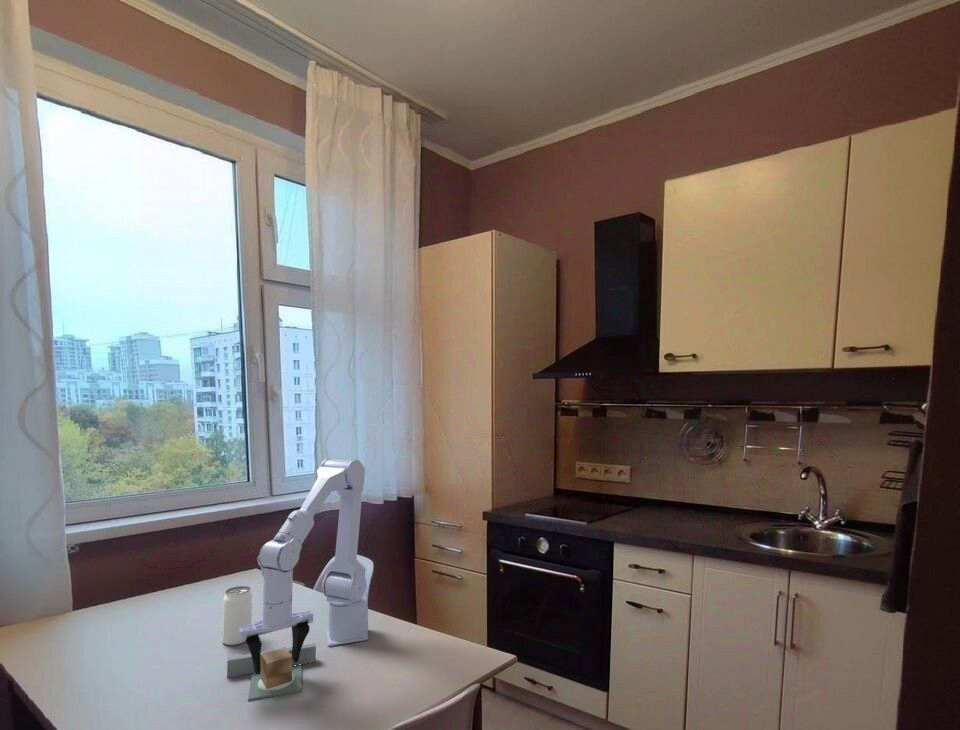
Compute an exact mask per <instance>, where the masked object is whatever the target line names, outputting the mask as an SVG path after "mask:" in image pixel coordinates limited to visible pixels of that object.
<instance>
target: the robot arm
mask: <svg viewBox="0 0 960 730" xmlns="http://www.w3.org/2000/svg"><path fill="white" fill-rule="evenodd" d="M365 474H366V467H365V466H364V465H363V463H362V461H360V460H358V459H353V460H352V459H337V458H336V459H335V458H325V459H324V460H323V461H322V462H321V464H320V466H319V468H318V469H317V470H316V478H317V479H316V480H315V482H314V484H313V486H312V487H311V489H310V491H309V493H308V494H307V496H306V497H305V500H304V502H302V505H301V507H300V509H295V510H293V511H292V512H291V513H289V515H288V516H287V519H286V520H285V522H284V523H283V524H282V526H281V527H280V529H279V530H278V532H277V533H276V534H275V536H274V538H273V539H272V540H269V541H267V542H265V544H264V545H262V547H261V548H260V551H259V555H258V556H257V557H256V560H257V563H258V566H259V567H260V569H261V576H262V578H263V592H262V594H263V595H262V597H263V598H262V599H263V600H262V601H263V603H262V620H259V621H257V622H254V623H251V625H249V626H246V627H243V628H240V629H239V639H240V641H241V642H242V641H246V642H245V643H246V645H247V647H248V650H249V652H250V653H249V654H251V656H252V660H253V664H254V671H255V673H256V674H260V669H261V668H260V654H261V652H262V651H261V650H262V644H263V642H262V641H261V637H260V636H261V635H265V634H270V633H272V632H277V631H281V630H282V631H283V630H285V629H288V628H291V632H292V633H291V635H292V636H291V637H292V646H291V647H292V659H293V660H294V662H298V660H299V655H300V651H301V648H302V645H304V642H305V640H306V638H307V636H308V635H309V632H310V627H311V626H310V625H309V624H312V623H313V622H314V612H312V611H311V610H305V611H300V612H293V577H294V576H293V574H294V573H293V572H294V570H293V569H294V567H295V566H296V565H297V564H298V562H299V560H300V553H301V550H302V547H303V546H302V544H303V543H304V542H305V539H306V538H307V536H308V535H309V533H310V532H311V531H312V529H313V527H314V525H315V521H314V516H315V515H316V514H317V512H318V511H319V510H320V508H321V507H322V505H323V504H324V503H325V502H326V501H327V499H328V498H329V496H330V495H331V494H332V493H333V492H337V494H338V495H339V496H340V501H339V510H338V511H339V512H338V521H337V522H338V523H337V531H336V544H335V555H334V561H332V562H331V563H329V564H328V565H327V566H326V569H325V574H324V577H323V579H322V585H321V590H322V594H323V595H324V596H325V597H326V602H328V603H329V604H328V630H326V634H325V635H326V642H327V646H328V647H331V646H332V647H333V646H339V645H345V644H350V643H355V642H356V643H357V642H363V641H368V640H369V612H368V611H369V610H368V608H369V607H368V599H367V597H364V595H365V594H366V590H367V579H366V568H365V567H364V566H363V564H362V563H360V562H359V560H358V559H357V557H358V547H359V536H360V535H359V534H360V524H361V513H362V511H361V510H362V501H363V492H364V487H365V477H366V475H365Z"/></svg>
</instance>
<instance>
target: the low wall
mask: <svg viewBox="0 0 960 730" xmlns="http://www.w3.org/2000/svg"><path fill="white" fill-rule="evenodd" d="M286 648H287V650H288V651H289V653H290V654H291V655H292V646H291V647H286ZM316 649H317V645H316V643H309V644H308V643H307V644H303V645H302V648H301V651H300V655H299V660H298V662H294V660H293V659H292V666H294V665H299V664H303V665H307V663H309V664H313V663H312V662H315V663H316V662H317V661H316V658H317V656H316V654H317V653H316V652H317V650H316ZM273 650H274V649H272V650H267V651H266V650H265V651H261V654H263V653H266V652H270V651H273ZM261 654H260V668H261ZM226 663H227V664H226V669H227V670H226V678H228V679H229V678H234V677H240V676H245V674H246V675H252V674H251V673H255V671H254V664H253V660H252V656H251V653H247V654H242V655H235V656H234V655H233V656H229V657H227V662H226ZM260 672H261V669H260Z"/></svg>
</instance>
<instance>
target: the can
mask: <svg viewBox="0 0 960 730" xmlns="http://www.w3.org/2000/svg"><path fill="white" fill-rule="evenodd" d="M252 612H253V593H252V591H251V587H250V586H247V585H239V586H233V587H230V588H228V589H227V590H225V595H224V596H223V603H222V630H221V631H222V633H221V634H222V635H221V636H222V637H221V638H222V640H221V641H222V643H223V644H224V645H225V646H238V645H242V644H244V643H246V641H242V642H241V641H240V639H239V629H240V628H243V627H246V626H249V625H251V624H253V623H252V616H253V613H252Z"/></svg>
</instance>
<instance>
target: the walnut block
mask: <svg viewBox="0 0 960 730" xmlns="http://www.w3.org/2000/svg"><path fill="white" fill-rule="evenodd" d="M287 648H288V647H287V646H285V647H281V648H277V649H272V650H273V651H271V650H269V651H270V652H266V653H263V654H261V680H262V682H263V684H264V686H265V688H266V689H269V688H272V687H275V686H278V685H281V684H285V683H288V682H291V681H292V655H291V654H290V653H289V651H288V650H287Z"/></svg>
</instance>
